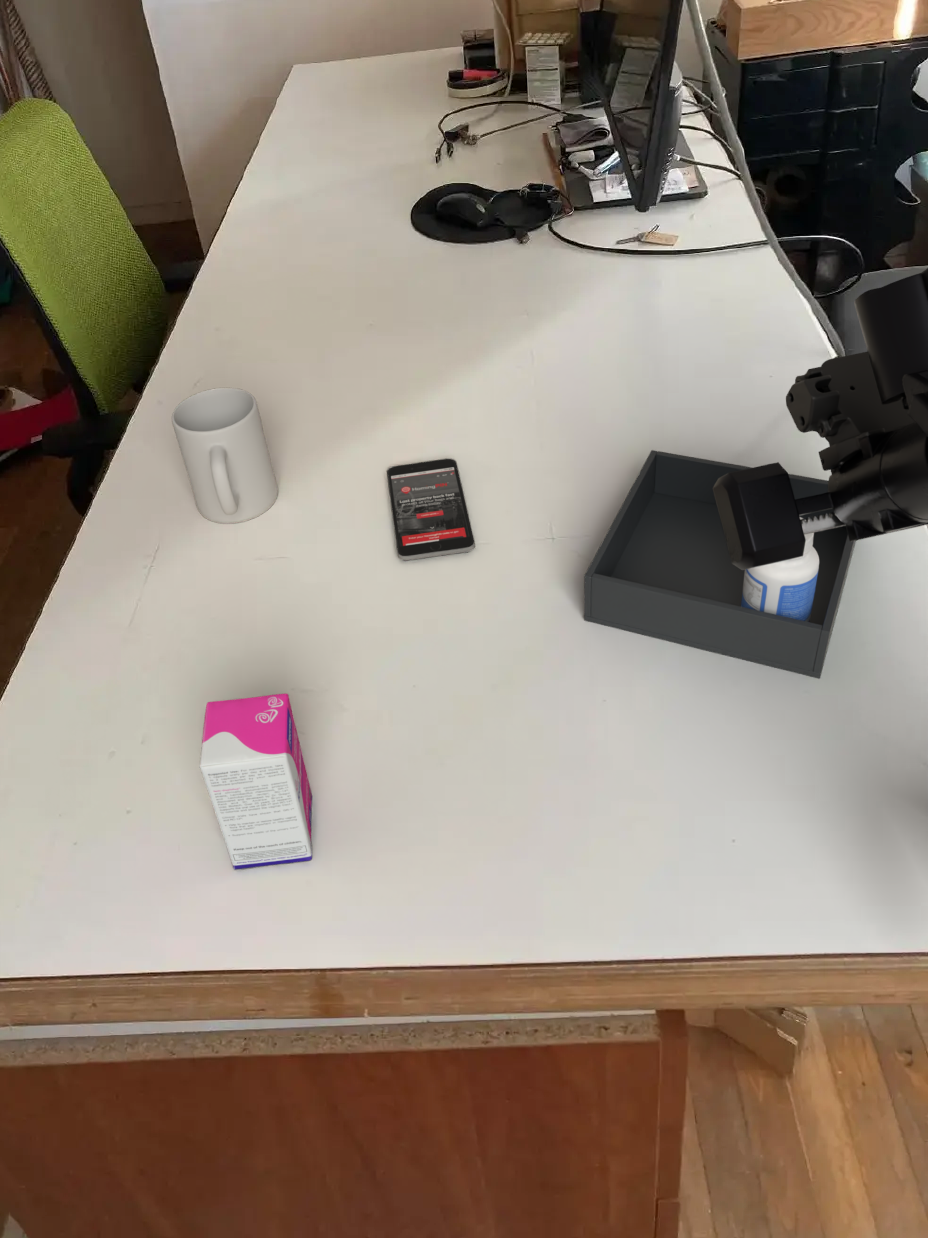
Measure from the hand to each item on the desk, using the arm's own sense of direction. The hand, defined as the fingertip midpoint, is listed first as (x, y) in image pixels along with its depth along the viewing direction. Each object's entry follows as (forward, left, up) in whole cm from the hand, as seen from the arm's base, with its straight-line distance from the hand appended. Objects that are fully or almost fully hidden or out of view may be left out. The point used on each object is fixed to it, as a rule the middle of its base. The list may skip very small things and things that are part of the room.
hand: (806, 514), depth 74 cm
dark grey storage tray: (+6, -7, -13) cm, 16 cm away
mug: (+54, -1, -13) cm, 56 cm away
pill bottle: (+1, -2, -13) cm, 13 cm away
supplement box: (+29, +31, -13) cm, 45 cm away
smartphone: (+35, -7, -13) cm, 38 cm away
